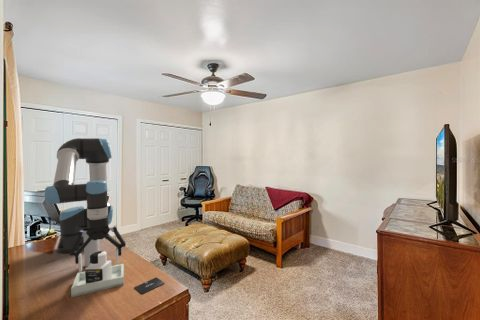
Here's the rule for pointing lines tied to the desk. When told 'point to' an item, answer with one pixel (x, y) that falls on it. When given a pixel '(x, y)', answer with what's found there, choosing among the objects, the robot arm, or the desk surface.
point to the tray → (83, 288)
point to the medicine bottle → (98, 267)
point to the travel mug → (89, 248)
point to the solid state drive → (149, 285)
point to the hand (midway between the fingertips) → (99, 266)
